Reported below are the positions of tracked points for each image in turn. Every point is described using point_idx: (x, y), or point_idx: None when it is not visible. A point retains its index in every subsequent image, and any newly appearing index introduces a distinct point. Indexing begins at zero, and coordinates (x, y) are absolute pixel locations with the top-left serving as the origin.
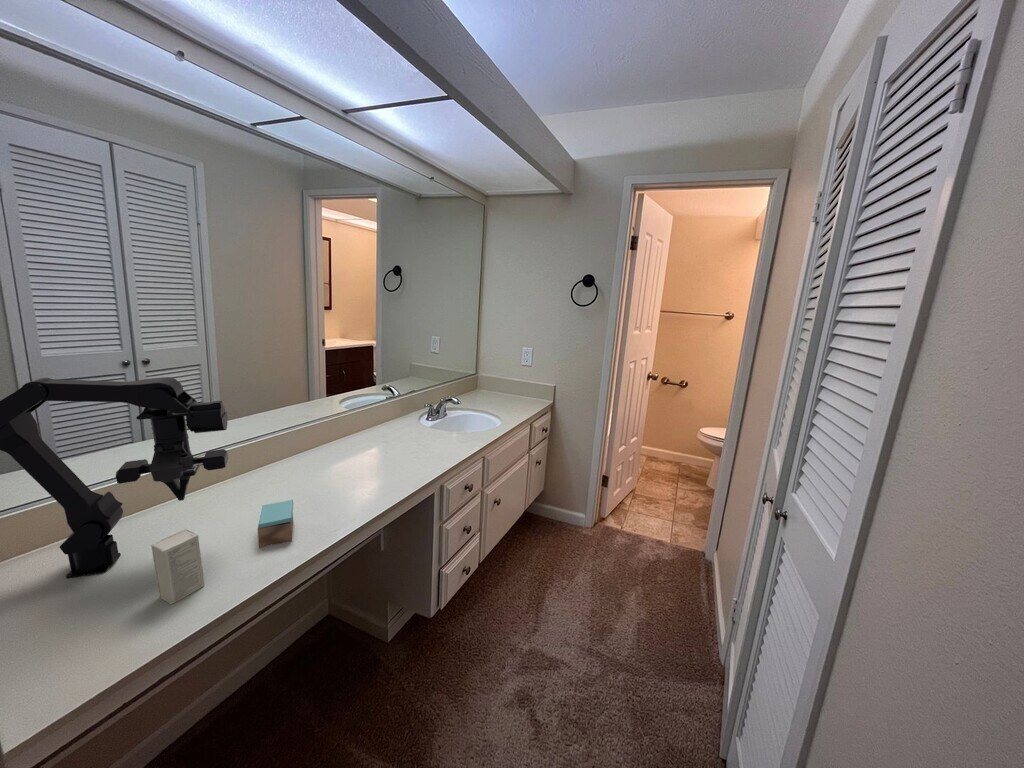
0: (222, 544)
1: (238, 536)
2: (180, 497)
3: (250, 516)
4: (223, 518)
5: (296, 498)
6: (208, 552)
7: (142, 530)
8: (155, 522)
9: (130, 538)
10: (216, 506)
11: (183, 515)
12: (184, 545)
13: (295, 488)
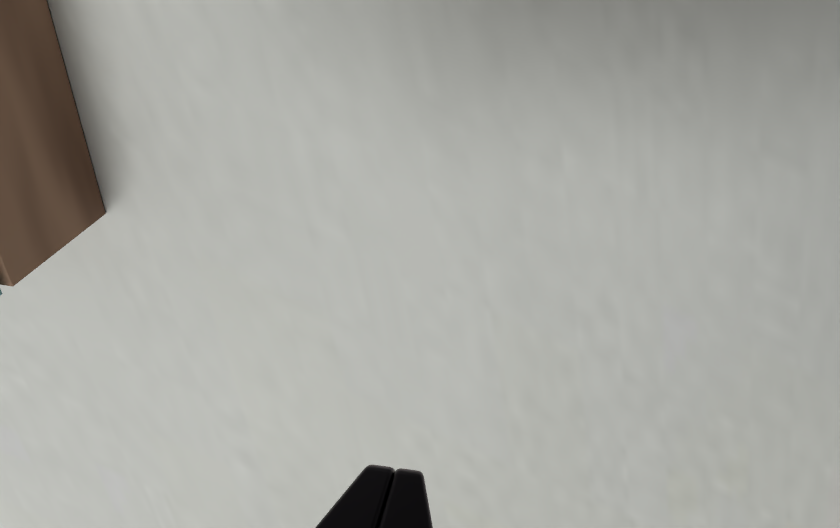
0: (291, 120)
1: (219, 177)
2: (382, 508)
3: (217, 364)
4: (354, 407)
5: (44, 425)
6: (356, 52)
7: (756, 482)
8: (691, 522)
9: (822, 435)
10: None
11: (559, 521)
12: None
13: (86, 507)
